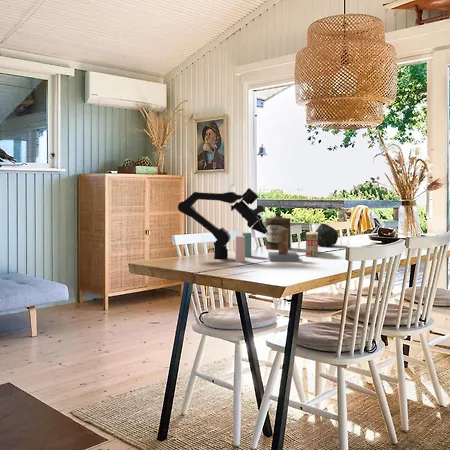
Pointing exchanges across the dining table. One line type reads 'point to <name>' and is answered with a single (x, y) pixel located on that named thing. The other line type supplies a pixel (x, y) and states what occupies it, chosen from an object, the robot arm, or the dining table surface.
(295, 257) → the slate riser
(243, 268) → the dining table surface
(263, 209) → the robot arm
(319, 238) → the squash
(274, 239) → the wooden container
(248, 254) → the muted teal block
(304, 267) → the dining table surface
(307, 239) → the stack of blocks
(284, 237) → the walnut block
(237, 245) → the dusty pink block
